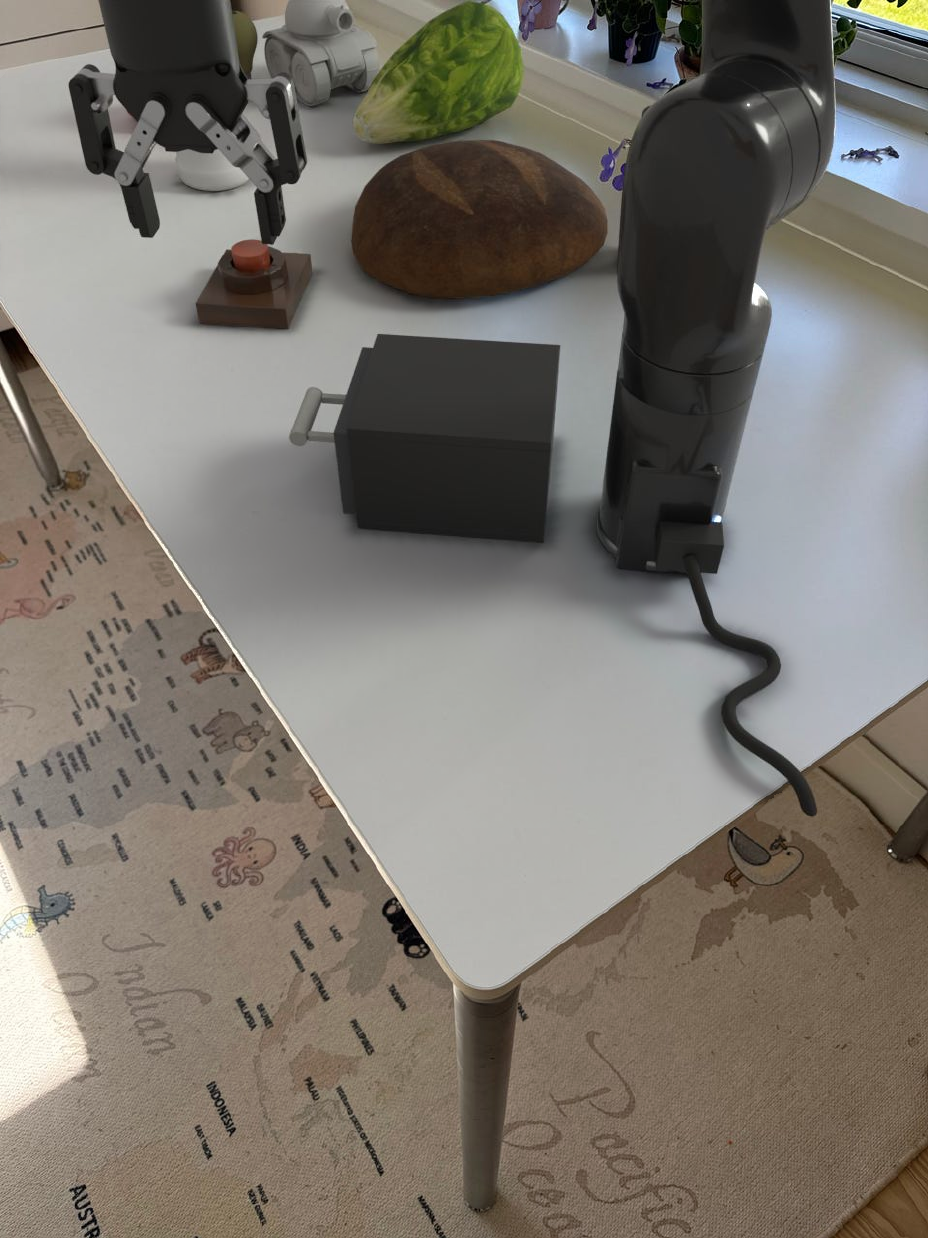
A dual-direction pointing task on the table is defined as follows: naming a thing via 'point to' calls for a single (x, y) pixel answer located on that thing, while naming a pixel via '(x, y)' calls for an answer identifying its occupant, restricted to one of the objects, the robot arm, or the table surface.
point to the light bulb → (245, 41)
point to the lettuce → (444, 78)
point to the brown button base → (255, 292)
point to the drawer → (339, 437)
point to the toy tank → (321, 50)
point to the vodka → (208, 171)
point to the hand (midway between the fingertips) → (211, 235)
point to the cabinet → (454, 437)
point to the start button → (250, 255)
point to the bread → (475, 220)
